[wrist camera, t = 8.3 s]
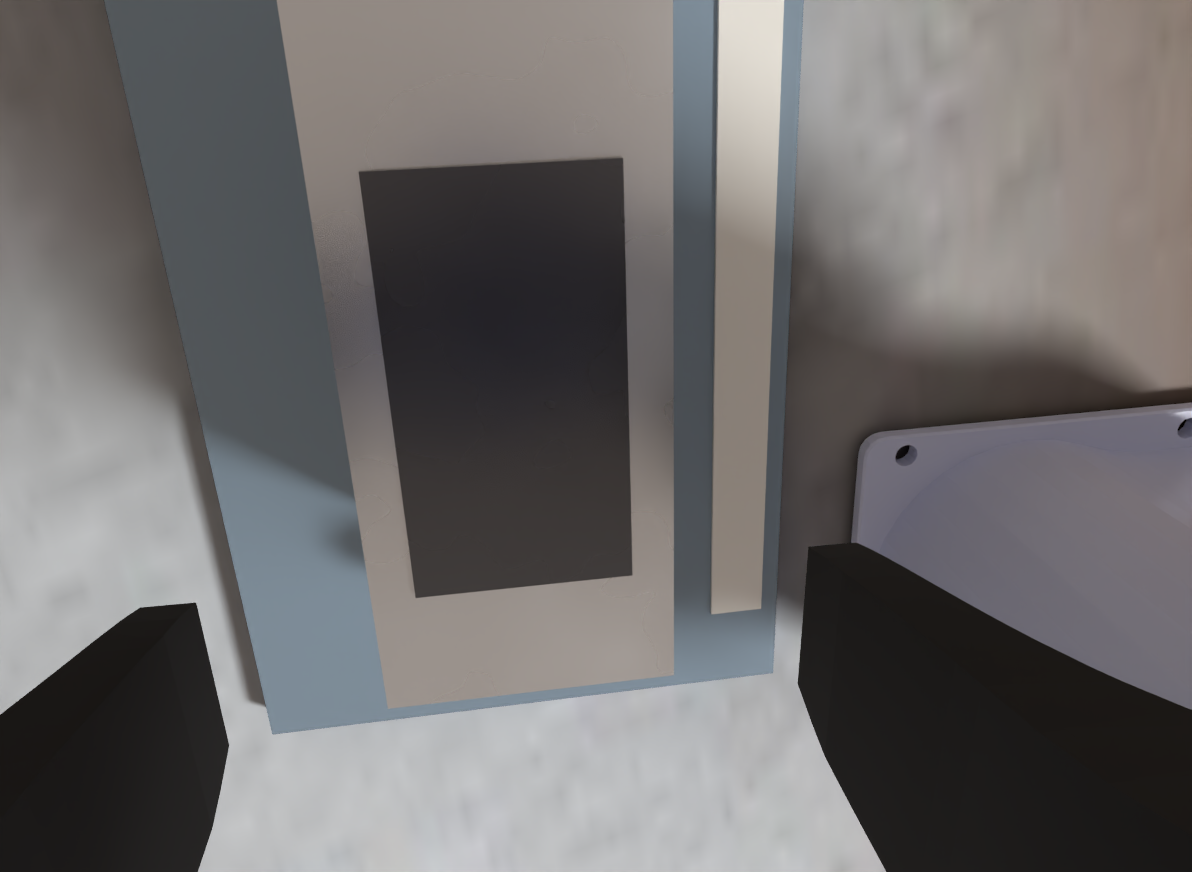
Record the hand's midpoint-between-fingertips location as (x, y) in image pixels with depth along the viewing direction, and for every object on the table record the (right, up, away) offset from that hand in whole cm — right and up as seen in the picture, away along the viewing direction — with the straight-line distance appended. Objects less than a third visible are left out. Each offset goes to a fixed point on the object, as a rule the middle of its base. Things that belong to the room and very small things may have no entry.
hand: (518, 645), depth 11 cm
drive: (-1, +5, +7) cm, 9 cm away
